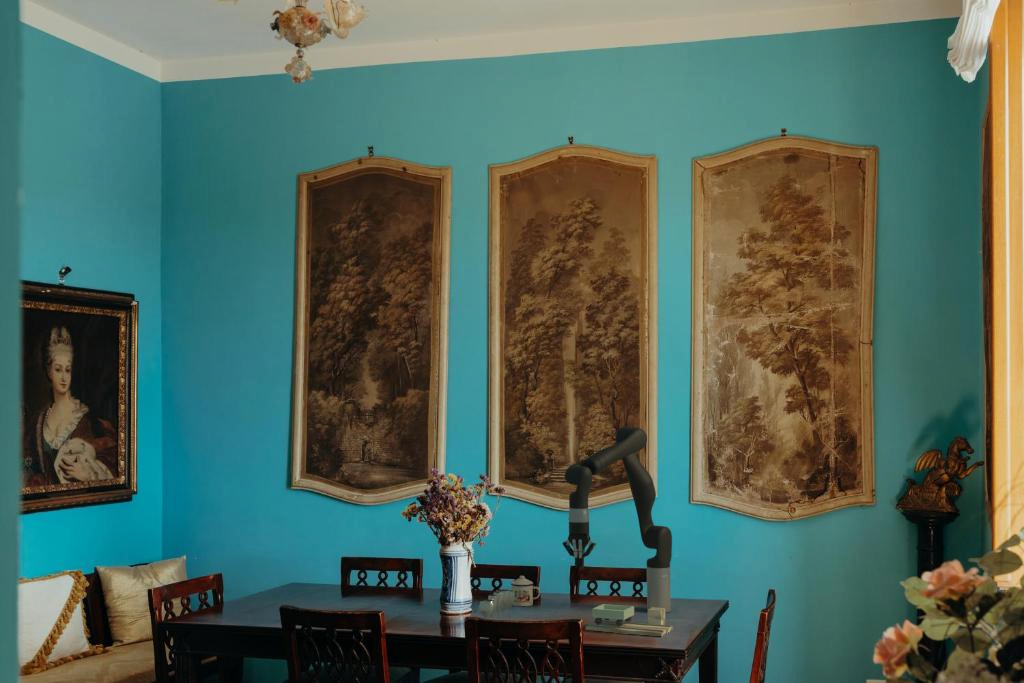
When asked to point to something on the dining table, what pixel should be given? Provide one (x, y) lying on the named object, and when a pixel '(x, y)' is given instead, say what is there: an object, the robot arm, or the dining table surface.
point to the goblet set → (497, 603)
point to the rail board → (631, 628)
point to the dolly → (613, 613)
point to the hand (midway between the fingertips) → (579, 568)
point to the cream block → (656, 616)
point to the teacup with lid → (523, 592)
